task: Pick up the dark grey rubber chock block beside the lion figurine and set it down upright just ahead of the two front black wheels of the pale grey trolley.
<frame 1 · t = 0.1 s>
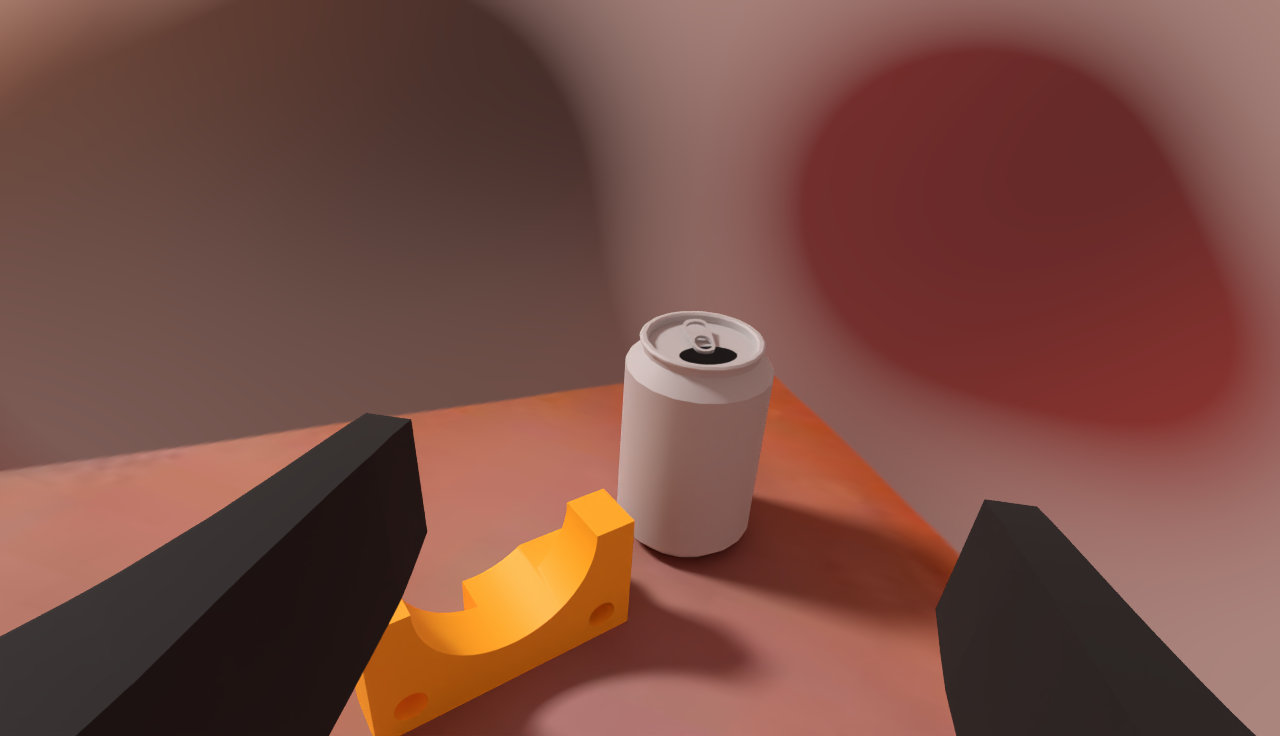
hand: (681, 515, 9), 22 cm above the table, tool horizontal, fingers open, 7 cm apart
pipe clamp: (493, 648, 34), on the table
can: (681, 523, 42), on the table
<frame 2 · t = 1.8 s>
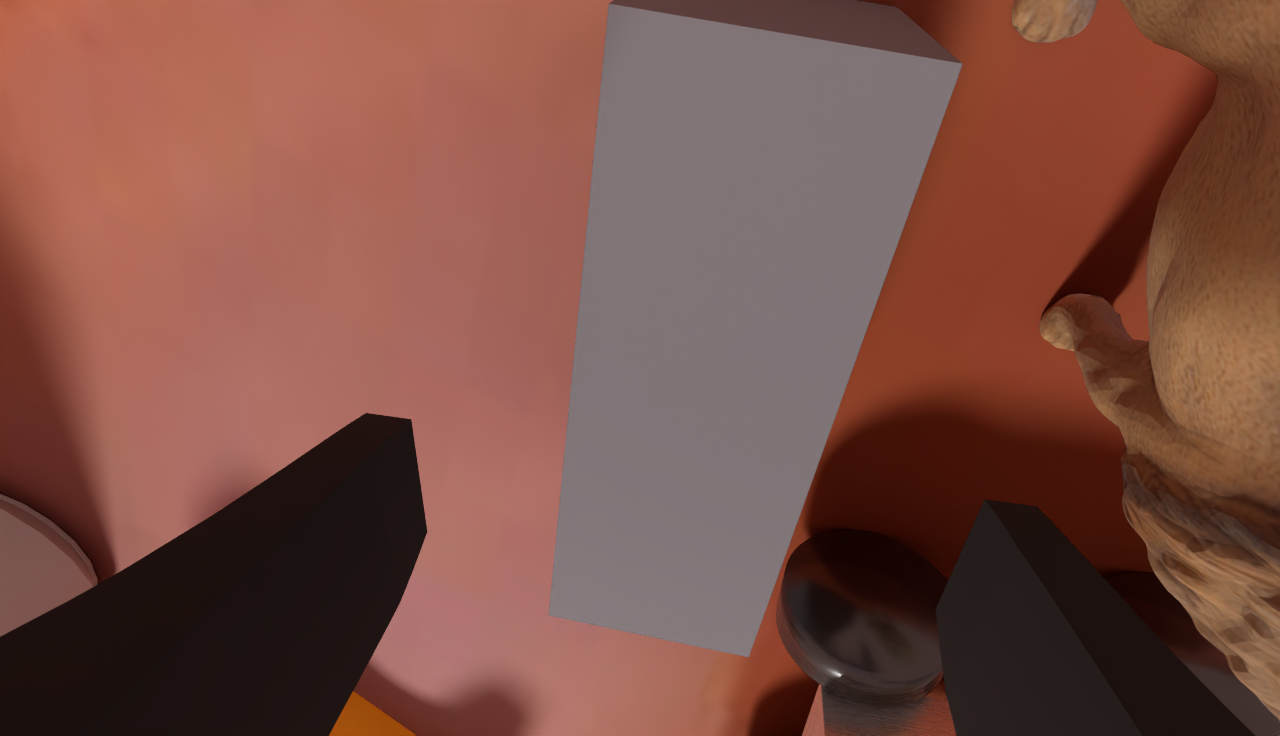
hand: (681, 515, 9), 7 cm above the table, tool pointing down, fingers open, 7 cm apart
chock: (715, 275, 15), on the table
pipe clamp: (355, 720, 28), on the table
can: (16, 546, 24), on the table
trolley: (940, 683, 21), on the table
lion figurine: (1176, 141, 13), on the table
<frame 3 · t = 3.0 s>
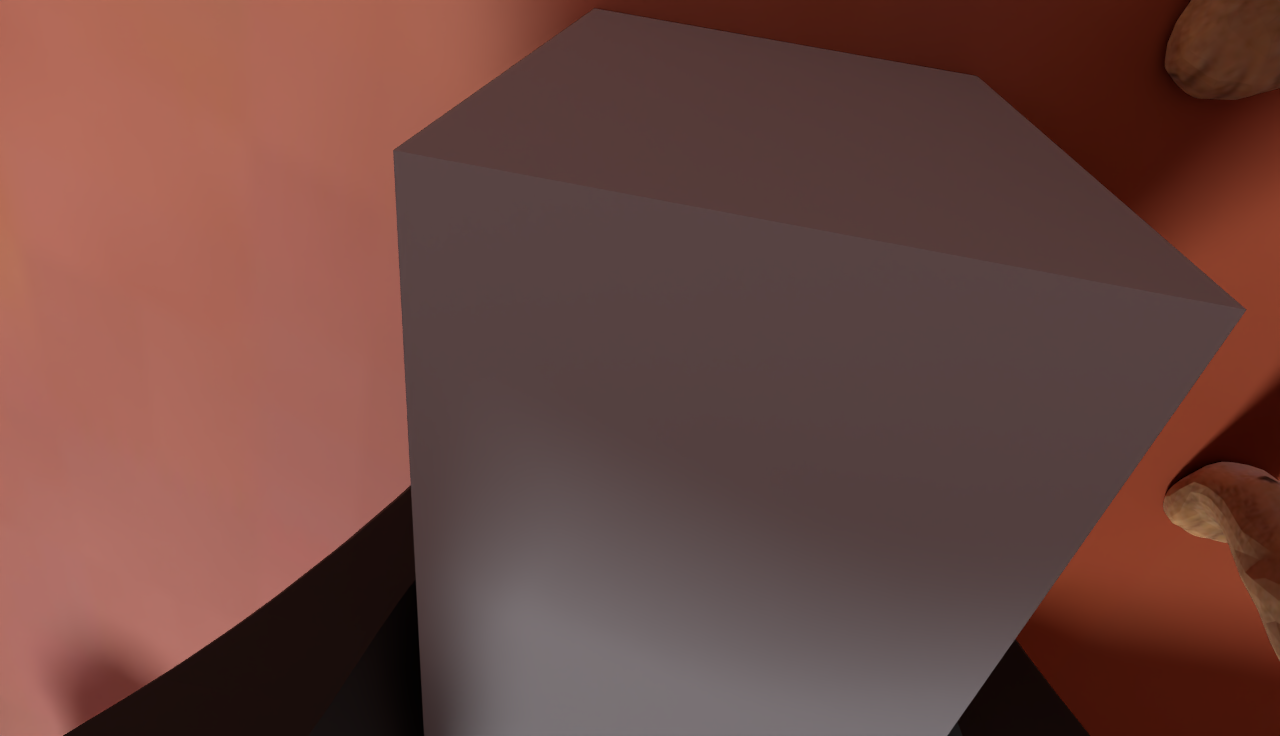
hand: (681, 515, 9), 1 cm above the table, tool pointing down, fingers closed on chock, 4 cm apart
chock: (689, 445, 11), on the table, touching gripper
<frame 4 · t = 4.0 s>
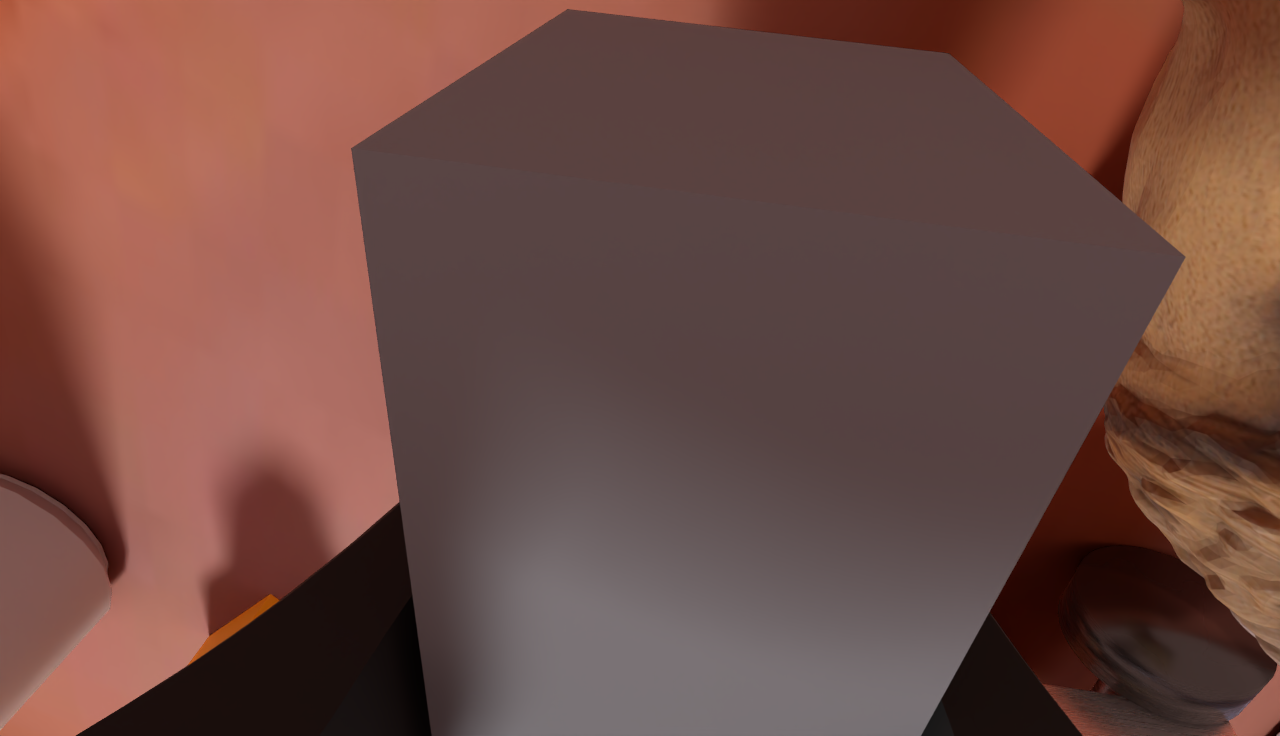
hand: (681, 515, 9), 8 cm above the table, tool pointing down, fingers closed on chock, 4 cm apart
chock: (689, 436, 11), point 6 cm above the table, touching gripper
pipe clamp: (375, 695, 28), on the table
can: (27, 530, 25), on the table
trolley: (931, 657, 22), on the table
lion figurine: (1154, 88, 13), on the table
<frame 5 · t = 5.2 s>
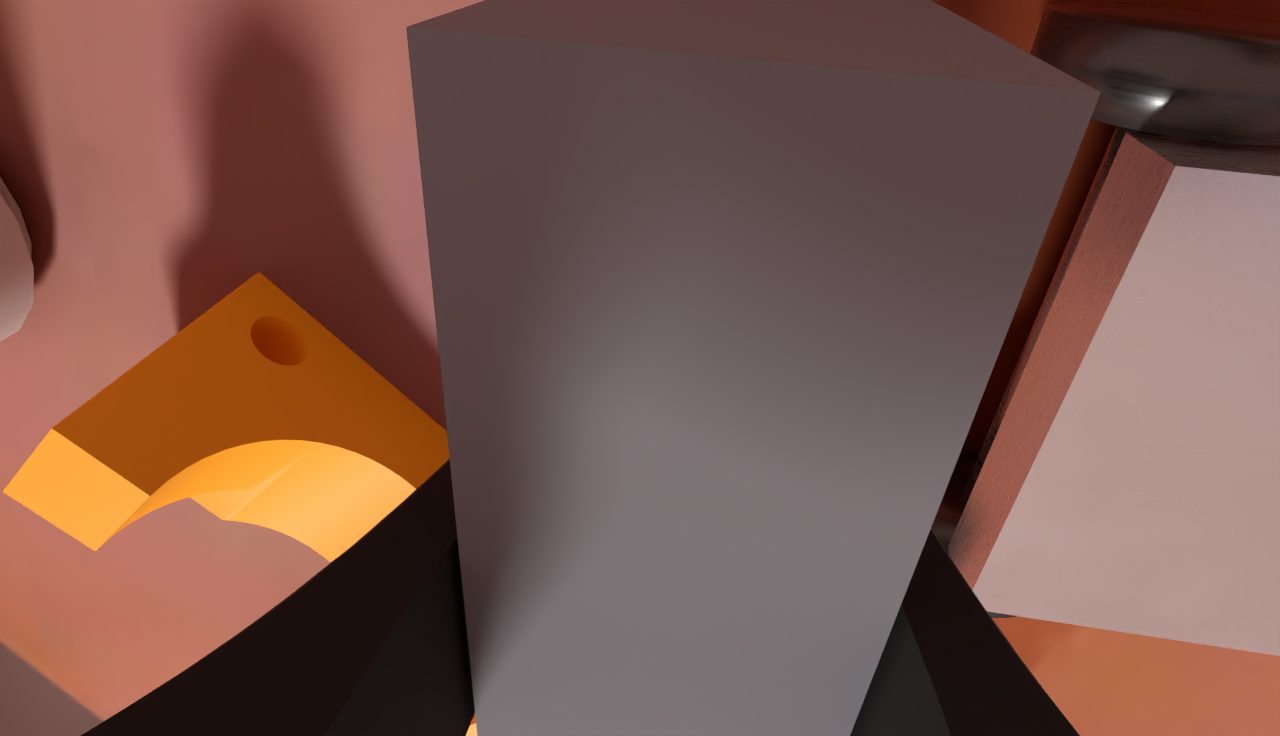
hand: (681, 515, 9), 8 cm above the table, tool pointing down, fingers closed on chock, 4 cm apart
chock: (698, 379, 11), point 5 cm above the table, touching gripper
pipe clamp: (401, 455, 21), on the table
trolley: (1193, 314, 15), on the table
when the fingers open (2 cm above the table, at t = 6.6 s): chock stays where it is, on the table.
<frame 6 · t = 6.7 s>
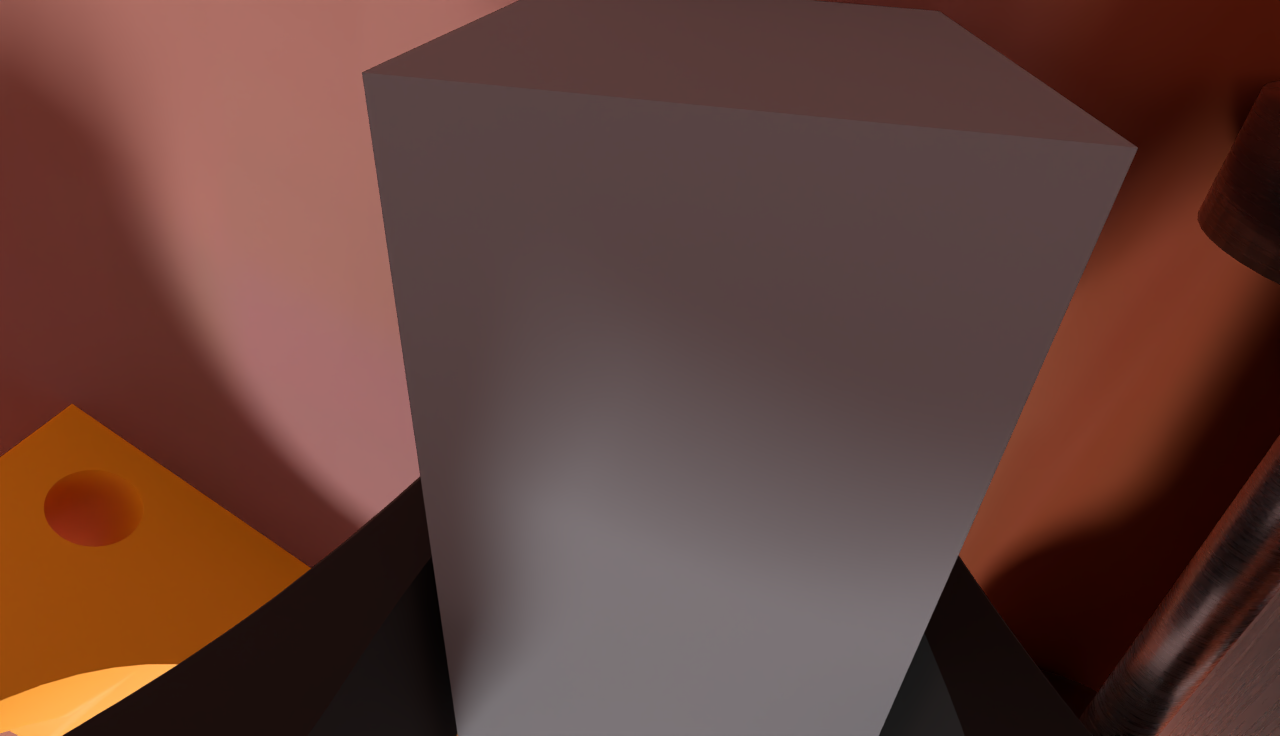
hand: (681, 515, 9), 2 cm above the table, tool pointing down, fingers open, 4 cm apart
chock: (695, 401, 11), on the table
pipe clamp: (306, 619, 16), on the table
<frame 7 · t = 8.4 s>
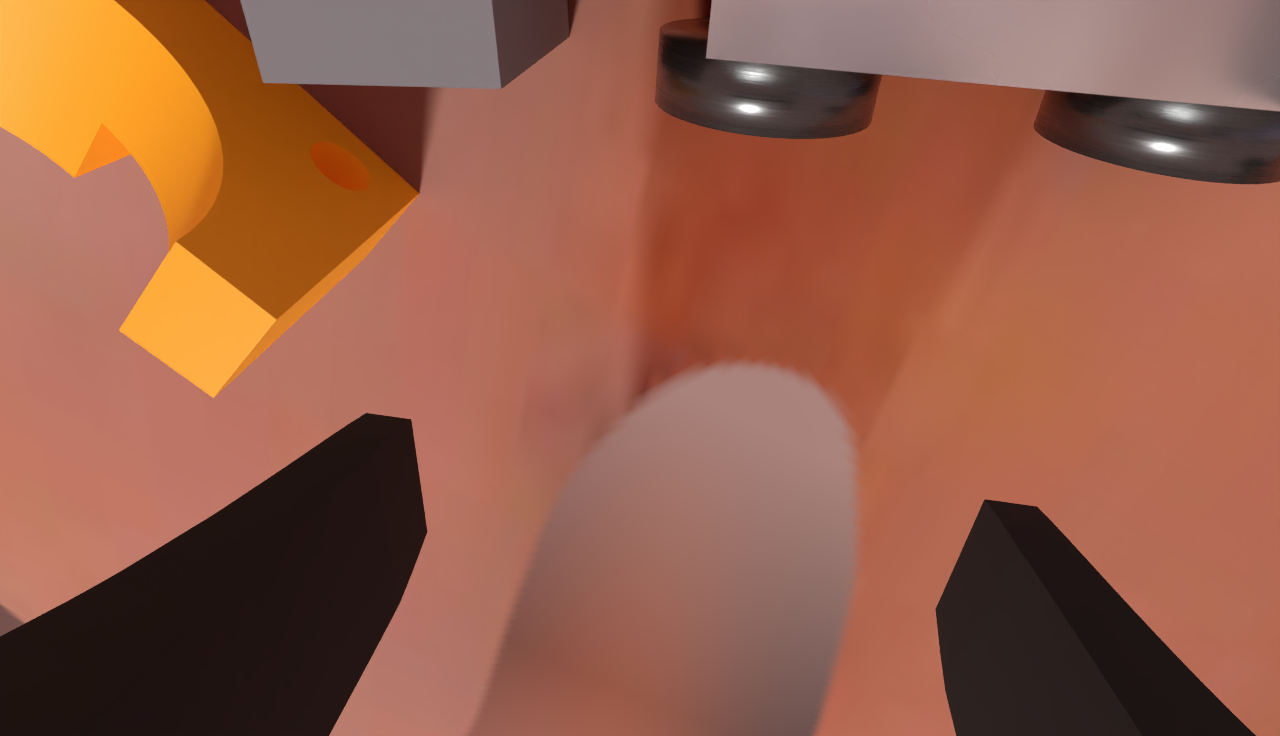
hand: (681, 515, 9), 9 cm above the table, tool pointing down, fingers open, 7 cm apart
pipe clamp: (173, 66, 17), on the table
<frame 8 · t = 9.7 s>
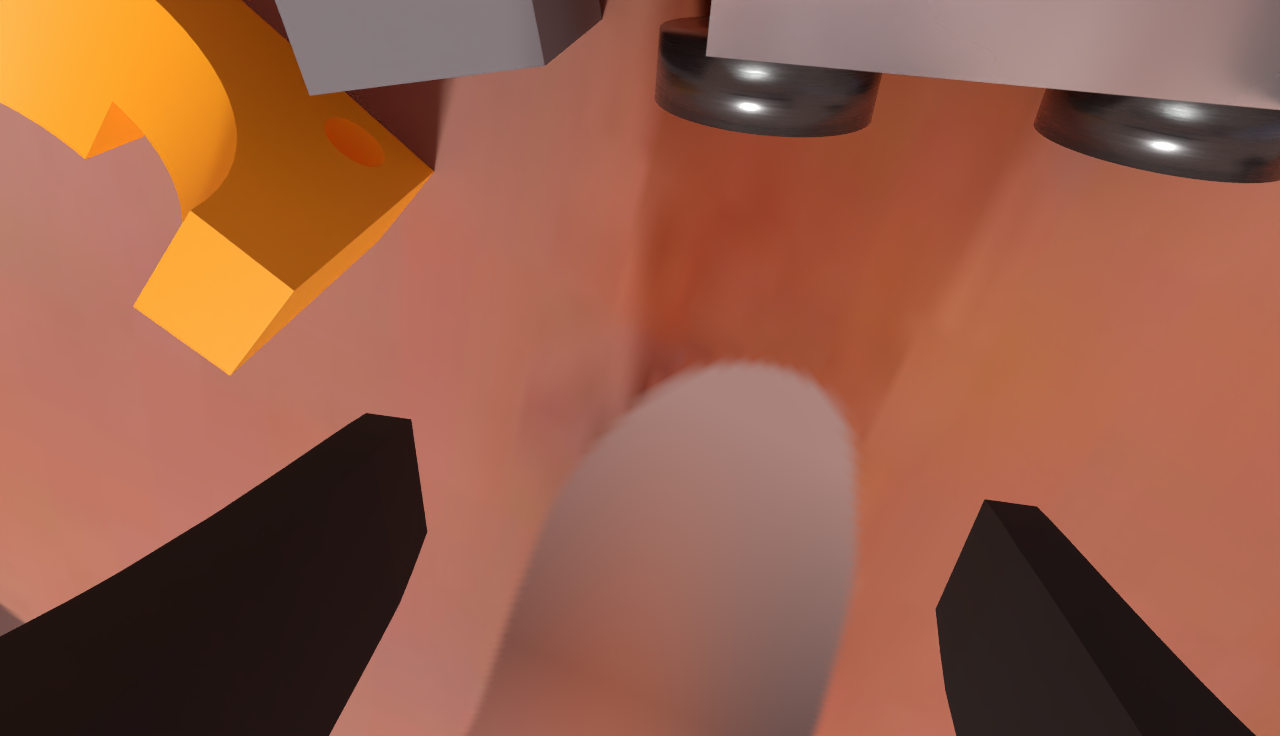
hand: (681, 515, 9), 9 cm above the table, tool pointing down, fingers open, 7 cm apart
pipe clamp: (183, 46, 17), on the table
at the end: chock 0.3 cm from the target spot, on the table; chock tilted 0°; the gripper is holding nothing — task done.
